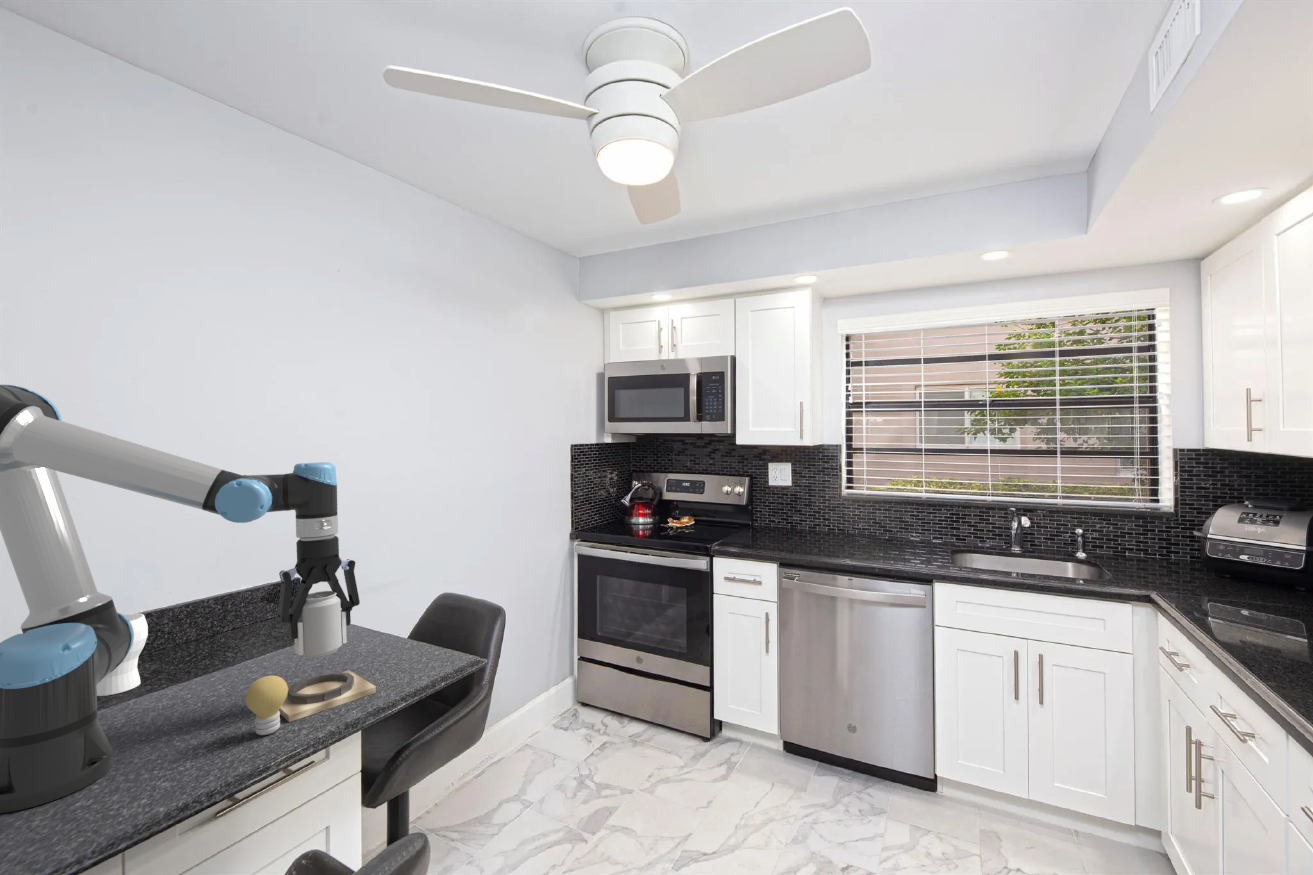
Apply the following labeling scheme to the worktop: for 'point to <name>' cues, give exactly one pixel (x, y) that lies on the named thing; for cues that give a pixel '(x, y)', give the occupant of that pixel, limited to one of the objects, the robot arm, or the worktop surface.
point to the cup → (126, 661)
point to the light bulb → (266, 702)
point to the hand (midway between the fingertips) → (321, 647)
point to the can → (321, 624)
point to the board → (321, 706)
